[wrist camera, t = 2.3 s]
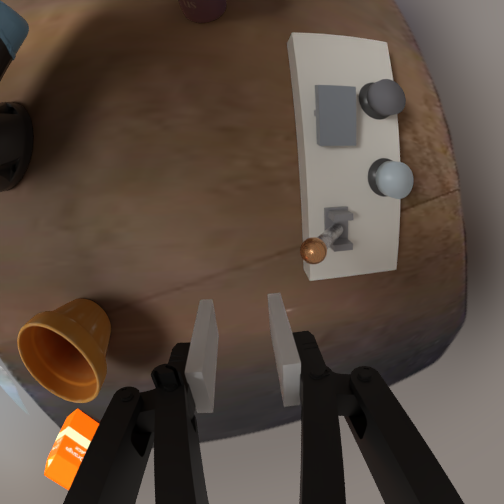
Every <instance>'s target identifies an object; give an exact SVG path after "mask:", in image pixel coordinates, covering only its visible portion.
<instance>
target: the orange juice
mask: <svg viewBox="0 0 504 504" xmlns="http://www.w3.org/2000/svg"><path fill="white" fill-rule="evenodd" d="M98 426H99V423H97V422H96V421H94V420H93V419H91V418H90V417H89V416H87V415H86V414H84V413H83V412H82V411H80V410H79V409H78V408H77V409H76V410H75V411H74V412H73V413H72V414H70V415H69V416H68V417H67V419H66V421H65V423H64V425H63V427H62V429H61V431H60V433H59V434H58V437H57V439H56V441H55V443H54V446H53V448H52V450H51V452H50V454H49V457H48V459H47V463H46V468H45V472H44V475H45V476H46V477H48V478H49V479H51V480H53V481H54V482H56V483H58V484H59V485H61V486H62V487H64V488H66V489H68V490H69V489H70V486H71V484H72V482H73V479H74V477H75V475H76V473H77V470H78V468H79V466H80V464H81V462H82V459H83V457H84V455H85V453H86V451H87V449H88V447H89V444H90V442H91V440H92V438H93V436H94V434H95V432H96V430H97V428H98Z"/></svg>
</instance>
